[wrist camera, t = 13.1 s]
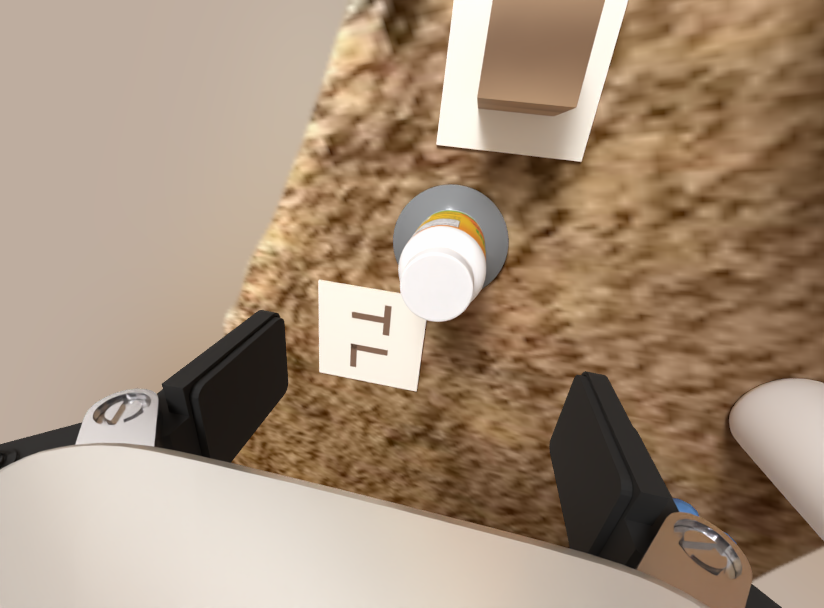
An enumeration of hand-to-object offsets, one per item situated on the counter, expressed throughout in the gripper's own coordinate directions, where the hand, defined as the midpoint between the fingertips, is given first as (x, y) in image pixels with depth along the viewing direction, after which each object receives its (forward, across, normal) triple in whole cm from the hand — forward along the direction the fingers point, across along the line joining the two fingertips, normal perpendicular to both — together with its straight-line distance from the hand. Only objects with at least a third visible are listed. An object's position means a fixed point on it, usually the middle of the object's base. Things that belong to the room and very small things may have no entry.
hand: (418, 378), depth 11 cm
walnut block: (+18, -2, -11) cm, 22 cm away
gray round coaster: (+18, 0, +1) cm, 18 cm away
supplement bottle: (+18, 0, 0) cm, 18 cm away
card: (+18, +6, +11) cm, 22 cm away
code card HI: (+19, -2, -11) cm, 22 cm away
